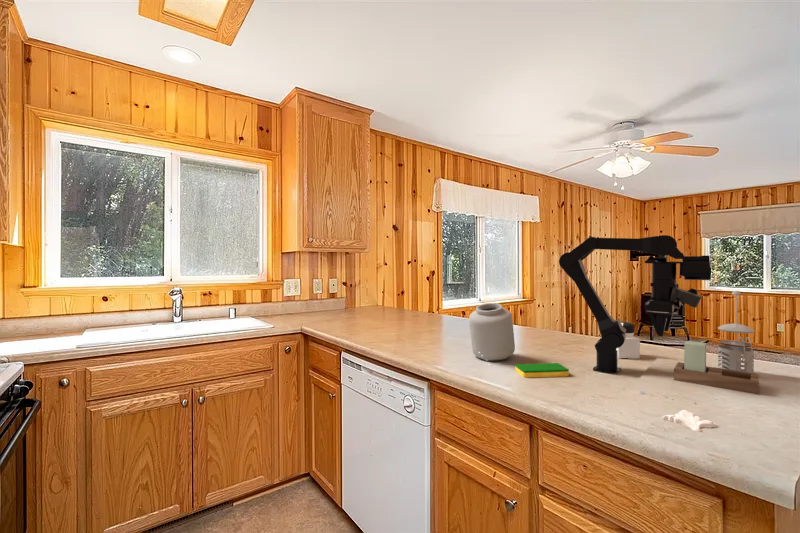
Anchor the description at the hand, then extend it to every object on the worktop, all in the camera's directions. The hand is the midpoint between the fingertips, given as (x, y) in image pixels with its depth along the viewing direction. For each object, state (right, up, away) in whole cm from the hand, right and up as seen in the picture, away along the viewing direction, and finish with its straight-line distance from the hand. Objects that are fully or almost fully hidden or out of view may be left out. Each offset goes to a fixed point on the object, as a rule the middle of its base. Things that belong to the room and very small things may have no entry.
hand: (663, 333), depth 107 cm
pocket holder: (+9, -13, -7) cm, 17 cm away
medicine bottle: (+3, -13, +25) cm, 28 cm away
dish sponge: (-33, -14, +6) cm, 36 cm away
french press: (+22, -13, +1) cm, 26 cm away
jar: (-44, -13, +23) cm, 52 cm away
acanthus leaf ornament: (-15, -15, -29) cm, 35 cm away
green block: (+6, -12, -4) cm, 14 cm away
